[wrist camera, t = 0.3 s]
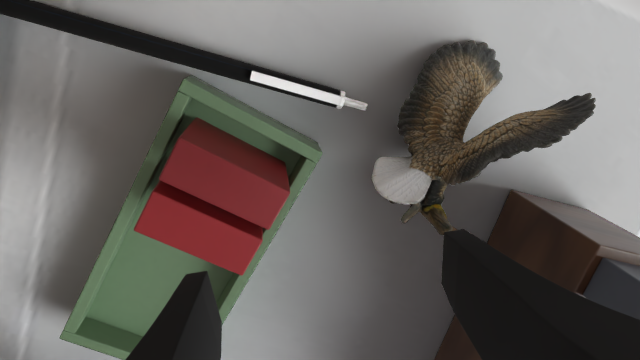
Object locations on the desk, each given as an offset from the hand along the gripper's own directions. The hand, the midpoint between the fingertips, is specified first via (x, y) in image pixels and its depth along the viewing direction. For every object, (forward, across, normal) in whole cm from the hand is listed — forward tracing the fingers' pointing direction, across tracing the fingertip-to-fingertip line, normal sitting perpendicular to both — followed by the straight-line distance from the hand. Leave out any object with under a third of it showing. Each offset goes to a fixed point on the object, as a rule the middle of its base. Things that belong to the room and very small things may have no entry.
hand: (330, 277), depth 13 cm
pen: (+12, +5, -5) cm, 14 cm away
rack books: (+10, +4, +1) cm, 11 cm away
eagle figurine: (+11, -8, 0) cm, 14 cm away
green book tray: (+10, +6, +4) cm, 13 cm away
